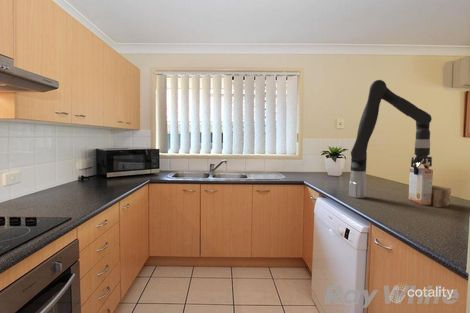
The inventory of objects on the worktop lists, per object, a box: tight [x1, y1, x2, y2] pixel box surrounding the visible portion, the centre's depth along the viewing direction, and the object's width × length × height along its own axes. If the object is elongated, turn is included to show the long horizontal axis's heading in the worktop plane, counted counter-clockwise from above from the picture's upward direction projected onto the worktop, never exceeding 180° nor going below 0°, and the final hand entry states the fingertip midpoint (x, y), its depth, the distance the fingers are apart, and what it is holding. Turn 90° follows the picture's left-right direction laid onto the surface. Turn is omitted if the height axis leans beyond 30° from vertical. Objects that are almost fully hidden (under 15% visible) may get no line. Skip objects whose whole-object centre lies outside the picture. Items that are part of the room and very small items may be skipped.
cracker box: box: [407, 166, 434, 206], centre depth 164 cm, size 14×6×21 cm, turn 174°
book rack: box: [431, 184, 452, 208], centre depth 164 cm, size 10×21×10 cm, turn 20°
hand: (421, 174), depth 163 cm, fingers open, 8 cm apart
